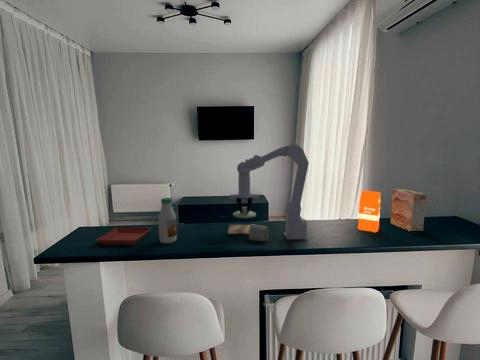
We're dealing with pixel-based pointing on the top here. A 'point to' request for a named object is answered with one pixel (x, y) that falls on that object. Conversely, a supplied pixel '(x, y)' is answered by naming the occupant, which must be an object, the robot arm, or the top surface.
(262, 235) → the ceramic mug
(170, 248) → the top surface
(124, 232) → the plant saucer
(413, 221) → the coffeecake box
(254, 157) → the robot arm
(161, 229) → the milk bottle
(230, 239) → the top surface
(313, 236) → the top surface
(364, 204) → the orange juice
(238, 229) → the trivet
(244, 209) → the lid
